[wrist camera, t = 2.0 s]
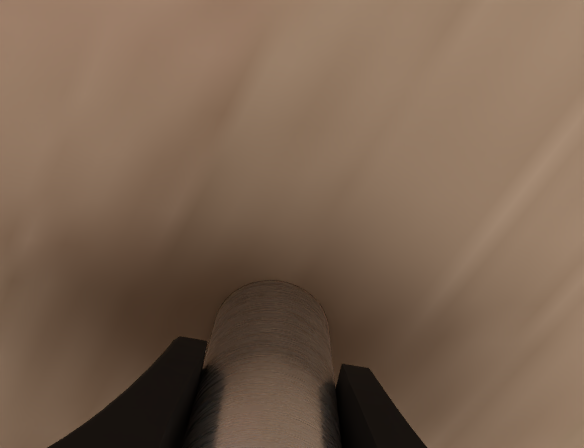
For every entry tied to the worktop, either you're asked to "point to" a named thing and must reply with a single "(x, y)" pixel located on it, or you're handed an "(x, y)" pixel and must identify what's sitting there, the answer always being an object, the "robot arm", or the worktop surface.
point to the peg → (267, 374)
